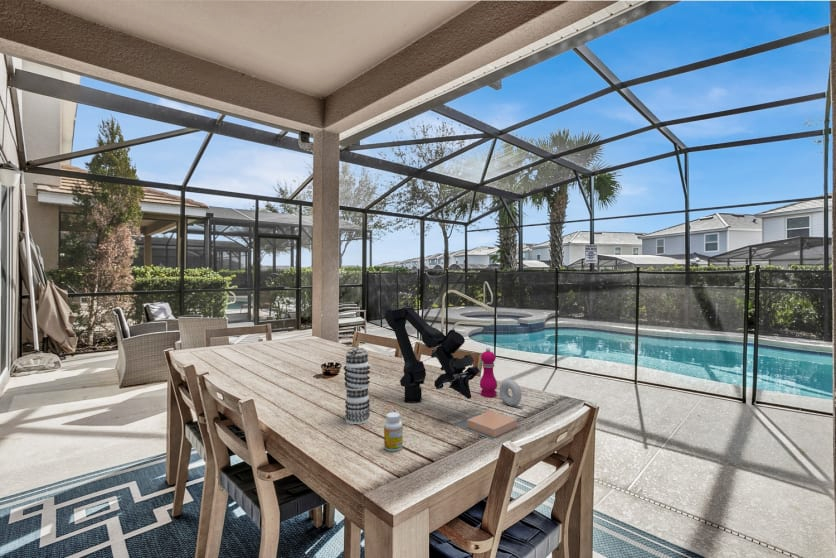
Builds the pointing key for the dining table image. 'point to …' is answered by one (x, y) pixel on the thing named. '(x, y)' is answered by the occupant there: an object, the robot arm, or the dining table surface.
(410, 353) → the robot arm
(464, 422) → the rubber mat
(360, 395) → the decorative candle
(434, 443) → the dining table surface
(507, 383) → the donut
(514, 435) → the dining table surface
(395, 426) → the supplement bottle
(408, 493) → the dining table surface
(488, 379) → the pepper mill
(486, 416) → the terracotta tile
